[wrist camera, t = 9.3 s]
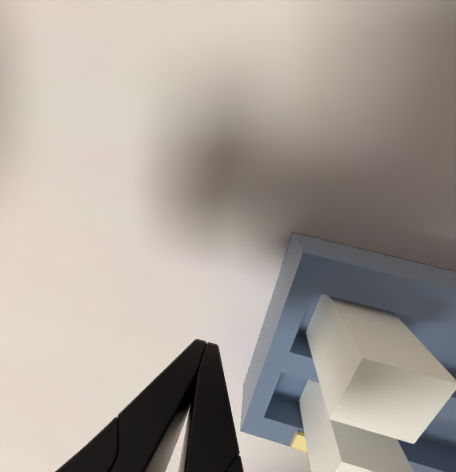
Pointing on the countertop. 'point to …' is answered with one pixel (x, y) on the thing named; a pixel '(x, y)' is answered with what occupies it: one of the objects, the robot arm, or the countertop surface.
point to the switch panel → (359, 291)
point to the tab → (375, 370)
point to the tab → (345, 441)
